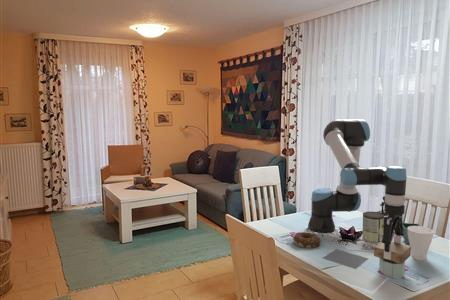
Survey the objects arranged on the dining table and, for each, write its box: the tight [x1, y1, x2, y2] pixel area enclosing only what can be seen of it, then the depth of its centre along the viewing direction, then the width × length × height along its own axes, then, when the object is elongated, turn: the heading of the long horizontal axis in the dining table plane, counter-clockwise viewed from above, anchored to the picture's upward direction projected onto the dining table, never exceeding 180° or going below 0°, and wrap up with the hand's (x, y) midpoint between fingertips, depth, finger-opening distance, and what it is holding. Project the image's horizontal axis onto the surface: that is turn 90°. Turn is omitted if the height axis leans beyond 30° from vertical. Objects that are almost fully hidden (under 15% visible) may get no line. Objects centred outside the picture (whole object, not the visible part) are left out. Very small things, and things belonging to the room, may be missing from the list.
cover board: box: [373, 240, 411, 264], centre depth 143 cm, size 11×11×4 cm
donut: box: [293, 231, 321, 249], centre depth 175 cm, size 14×14×5 cm
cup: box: [407, 225, 434, 261], centre depth 158 cm, size 10×10×14 cm
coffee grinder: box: [377, 195, 395, 235], centre depth 196 cm, size 16×11×18 cm
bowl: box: [378, 258, 406, 279], centre depth 144 cm, size 9×9×6 cm
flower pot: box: [402, 222, 421, 245], centre depth 175 cm, size 9×9×9 cm
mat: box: [322, 248, 369, 270], centre depth 157 cm, size 16×14×1 cm
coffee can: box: [361, 211, 384, 245], centre depth 179 cm, size 10×10×14 cm
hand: (392, 254), depth 143 cm, fingers closed on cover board, 11 cm apart
